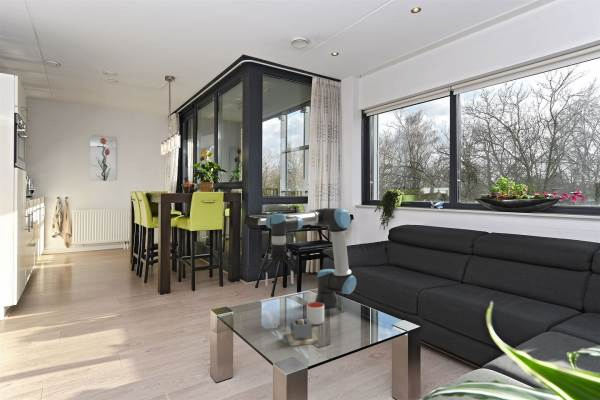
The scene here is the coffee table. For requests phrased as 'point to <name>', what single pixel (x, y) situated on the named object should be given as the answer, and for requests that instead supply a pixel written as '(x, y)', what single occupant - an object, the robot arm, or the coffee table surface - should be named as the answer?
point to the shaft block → (300, 342)
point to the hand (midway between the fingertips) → (279, 284)
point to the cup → (315, 313)
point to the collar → (301, 329)
